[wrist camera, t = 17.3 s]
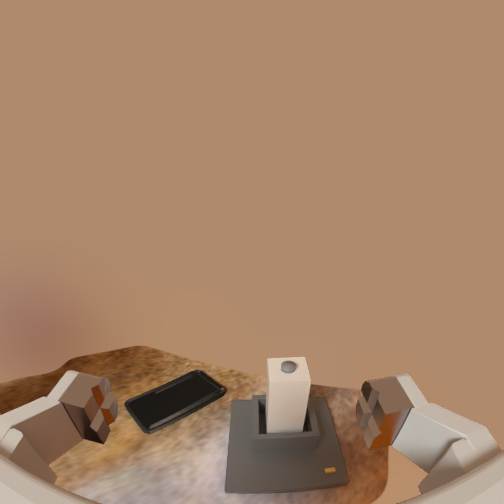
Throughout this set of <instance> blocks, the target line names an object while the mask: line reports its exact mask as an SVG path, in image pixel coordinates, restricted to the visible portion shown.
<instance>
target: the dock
mask: <svg viewBox="0 0 504 504" xmlns="http://www.w3.org/2000/svg"><path fill="white" fill-rule="evenodd" d="M265 412H266V395H252V400H232V409H231V421H230V433H229V445H228V457H227V469H226V482H225V492H226V493H282V492H296V491H306V490H315V489H322V488H329V487H335V486H341V485H347V484H348V482H349V479H348V475H347V471H346V468H345V464H344V460H343V457H342V453H341V450H340V446H339V443H338V439H337V436H336V432H335V429H334V425H333V422H332V418H331V415H330V412H329V408H328V405H327V401H326V398H325V397H316V398H311V395H310V393H309V397H308V403H307V409H306V415H305V420H304V426H303V431H302V432H297V433H280V434H266V423H265Z"/></svg>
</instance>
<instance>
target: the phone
mask: <svg viewBox="0 0 504 504" xmlns="http://www.w3.org/2000/svg"><path fill="white" fill-rule="evenodd" d="M223 395H224V388H223V387H222V386H221V385H219V384H218V383H217V382H215V381H214V380H213V379H211V378H210V377H208V376H207V375H206V374H204V373H203V372H202V371H200V370H194V371H192V372H190V373H187V374H185V375H183V376H181V377H179V378H177V379H175V380H172V381H170V382H168V383H166V384H164V385H161V386H159V387H157V388H155V389H152V390H150V391H148V392H145V393H143V394H141V395H138V396H136V397H133V398H131V399H129V400H127V401H126V402H125V407H126V410H128V412H129V414H130V415H131V417H132V418H133V419H134V421H135V422H136V423H137V425H138V426H139V427H140V428H141V430H142V431H143V432H144V433H146V434H152V433H154V432H157V431H159V430H161V429H163V428H165V427H167V426H169V425H171V424H173V423H175V422H177V421H179V420H181V419H183V418H184V417H186V416H188V415H190V414H192V413H194V412H196V411H198V410H199V409H201V408H203V407H205V406H207V405H208V404H210V403H212V402H214V401H215V400H217V399H219V398H221V397H222V396H223Z"/></svg>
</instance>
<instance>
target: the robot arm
mask: <svg viewBox="0 0 504 504" xmlns="http://www.w3.org/2000/svg"><path fill="white" fill-rule="evenodd" d="M110 389H111V384H110V382H109V380H108V379H106V378H104V377H99V376H95V375H90V374H86V373H81V372H77V371H73V370H69V371H67V372H66V373H65V374H64V376H63V377H62V378H61V379H60V381H59V382H58V383H57V385H56V386H55V387H54V388H53V390H52V391H51V392H50V394H49V395H48V396H47V397H44V396H43V397H41V398H39V399H37V400H35V401H32V402H30V403H28V404H25V405H23V406H21V407H19V408H16V409H14V410H12V411H9V412H7V413H4V414H2V415H1V412H0V504H101V503H98V502H95V501H92V500H90V499H87V498H84V497H82V496H79V495H77V494H74V493H72V492H70V491H67V490H65V489H63V488H61V487H58V486H56V485H54V483H55V481H56V479H57V476H56V473H55V472H54V471H53V470H52V469H51V468H50V467H49V466H48V465H49V464H51V463H52V462H53V461H55V460H56V459H58V458H59V457H60V456H62V455H63V454H65V453H66V452H67V451H69V450H70V449H72V448H73V447H74V446H76V445H77V444H79V443H80V442H81V441H83V439H86V440H89V441H93V442H97V443H101V444H104V443H105V441H106V439H107V437H108V435H109V432H110V428H109V425H110V424H111V423H113V422H114V421H115V419H116V417H117V414H118V403H117V399H116V397H115V396H114V395H113V394H112V393H111V392H110ZM361 391H362V393H363V395H362V396H361V397H360V398H359V399H358V402H357V405H356V417H357V421H358V424H359V426H361V427H362V428H364V429H365V431H364V434H363V437H364V440H365V443H366V445H367V448H368V450H371V449H376V448H381V447H385V446H389V445H392V447H394V448H395V449H396V450H398V451H399V452H400V453H402V454H403V455H404V456H405V457H407V458H408V459H410V460H411V461H412V462H413V463H415V464H416V465H418V466H419V467H420V468H422V469H423V470H424V471H426V472H427V473H429V474H428V475H427V476H426V477H425V479H424V480H423V481H422V482H421V483H420V485H419V486H418V487H419V490H420V492H421V495H419V496H417V497H414V498H411V499H409V500H406V501H403V502H400V503H397V504H504V450H503V451H502V450H501V449H500V447H499V446H498V444H497V443H496V441H495V440H494V439H493V437H492V436H491V434H490V433H489V431H488V430H487V429H486V427H485V426H482V425H480V424H478V423H476V422H474V421H471V420H469V419H467V418H465V417H462V416H460V415H458V414H456V413H454V412H451V411H449V410H447V409H445V408H443V407H441V406H438V405H437V404H434V403H428V402H427V400H426V399H425V397H424V396H423V394H422V393H421V391H420V390H419V388H418V387H417V385H416V384H415V382H414V381H413V380H412V378H411V377H410V375H409V374H407V373H404V374H399V375H395V376H390V377H385V378H380V379H374V380H368V381H365V382H364V384H363V385H362V389H361Z"/></svg>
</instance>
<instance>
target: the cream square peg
mask: <svg viewBox="0 0 504 504" xmlns="http://www.w3.org/2000/svg"><path fill="white" fill-rule="evenodd" d="M310 384H311V379H310V375H309V371H308V367H307V364H306V360H305V357H294V358H293V357H292V358H268V359H267V384H266V412H265V423H266V434H280V433H297V432H302V431H303V426H304V420H305V415H306V409H307V403H308V397H309V391H310Z"/></svg>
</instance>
